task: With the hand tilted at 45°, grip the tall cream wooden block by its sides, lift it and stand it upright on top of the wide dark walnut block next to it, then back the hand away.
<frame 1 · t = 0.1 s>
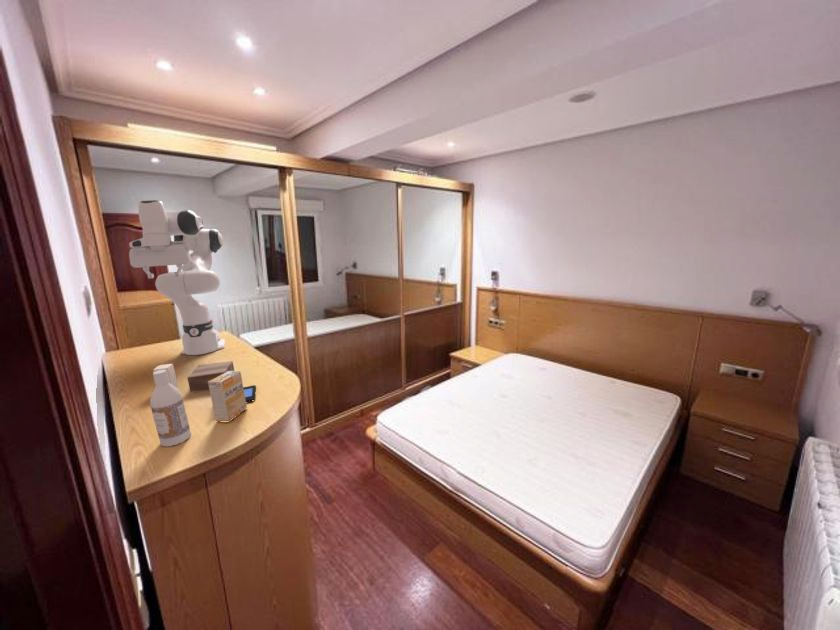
hand: (164, 277, 139), 39 cm above the table, tool pointing down, fingers open, 8 cm apart
supplement box: (232, 416, 106), on the table
handheld game console: (238, 398, 118), on the table
cream block: (168, 389, 127), on the table
walnut block: (214, 383, 131), on the table
bath foam: (176, 440, 95), on the table
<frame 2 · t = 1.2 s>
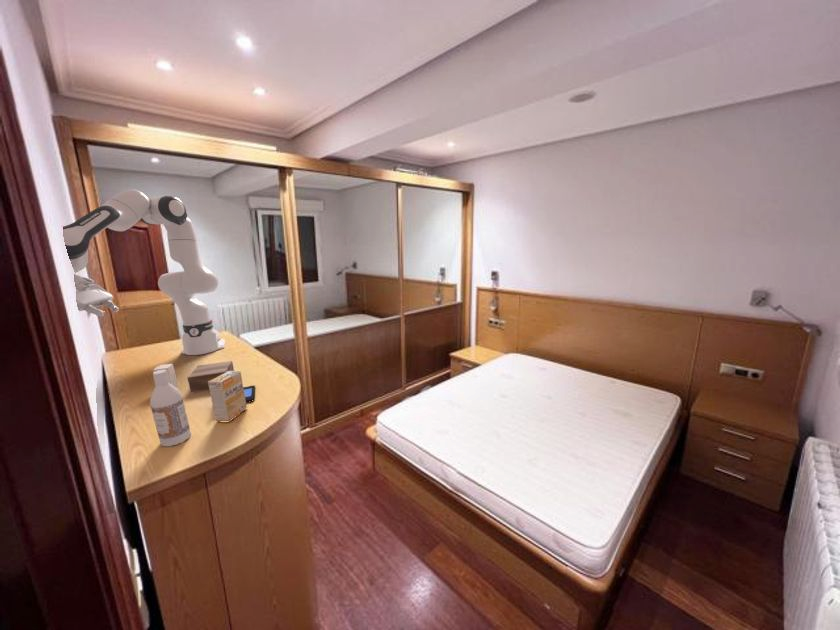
hand: (110, 312, 122), 29 cm above the table, tool tilted 45°, fingers open, 8 cm apart
nothing on the table moved.
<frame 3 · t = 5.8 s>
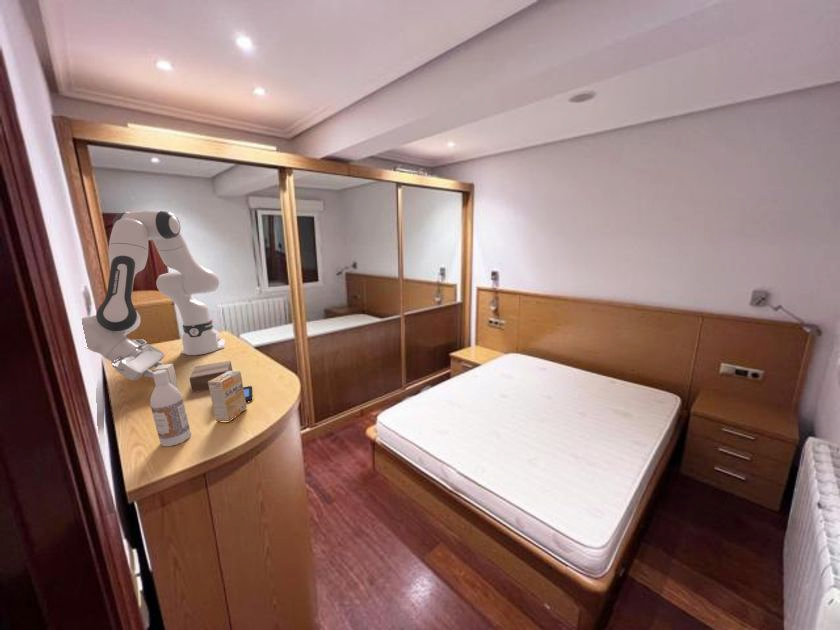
hand: (163, 374, 126), 6 cm above the table, tool tilted 45°, fingers closed on cream block, 4 cm apart
cream block: (168, 389, 127), on the table, touching gripper
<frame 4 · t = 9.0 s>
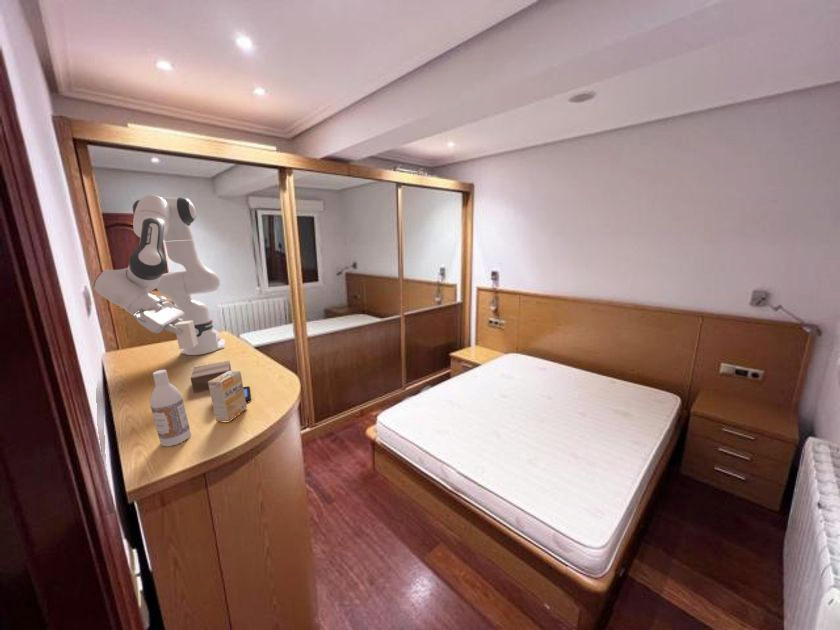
hand: (184, 330, 124), 21 cm above the table, tool tilted 45°, fingers closed on cream block, 4 cm apart
cream block: (188, 346, 126), point 15 cm above the table, touching gripper
when the fingers open (13 cm above the table, at t = 12.2 s): cream block drops 2 cm, point 6 cm above the table.
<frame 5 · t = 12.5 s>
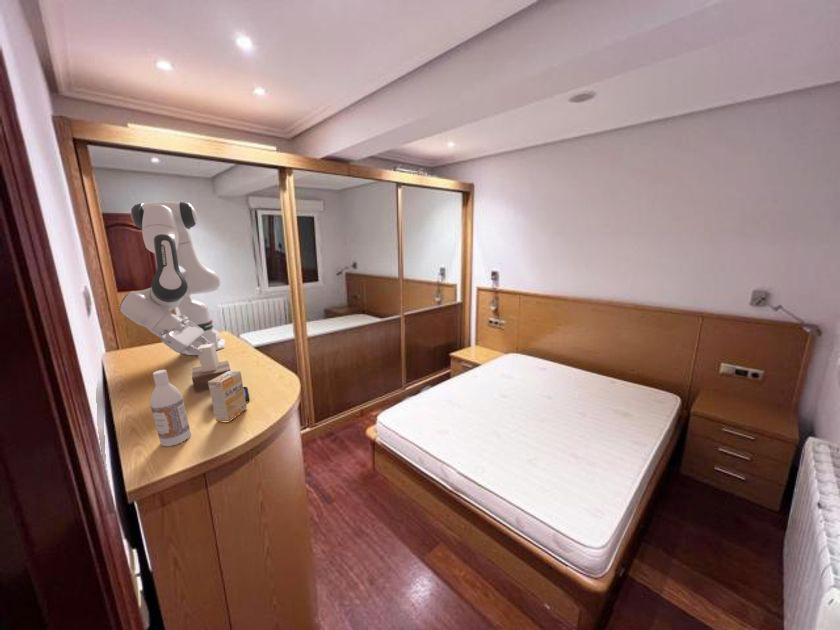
hand: (205, 349, 128), 13 cm above the table, tool tilted 45°, fingers open, 8 cm apart
cream block: (211, 368, 130), point 6 cm above the table
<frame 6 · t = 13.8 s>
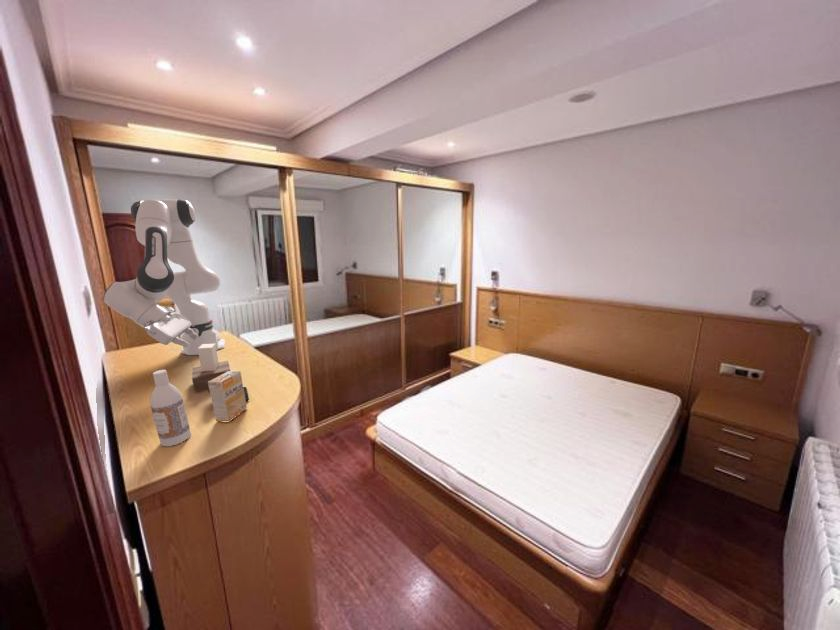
hand: (192, 341, 126), 17 cm above the table, tool tilted 45°, fingers open, 8 cm apart
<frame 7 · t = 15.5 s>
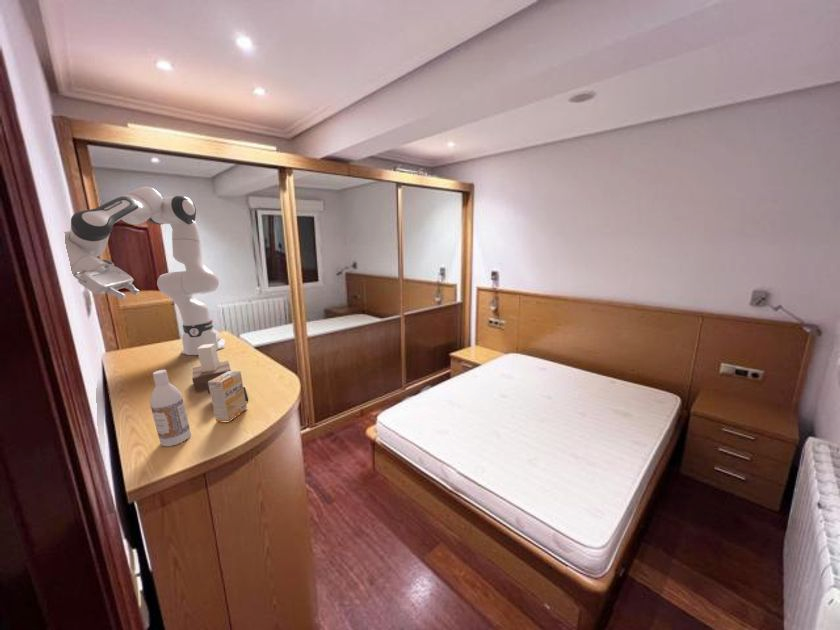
hand: (131, 295, 123), 35 cm above the table, tool tilted 45°, fingers open, 8 cm apart
cream block: (211, 368, 130), point 6 cm above the table, touching walnut block
walnut block: (214, 383, 131), on the table, touching cream block
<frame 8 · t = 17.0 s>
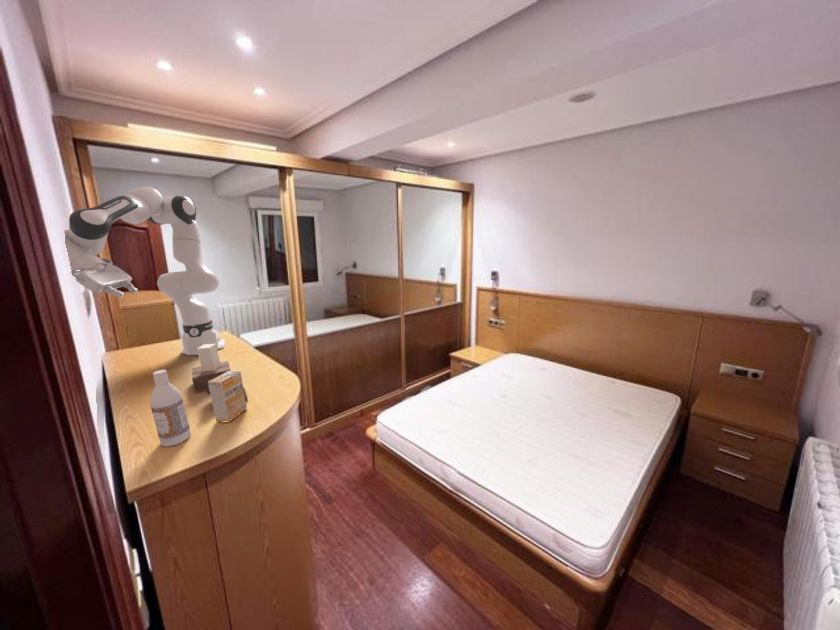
hand: (129, 294, 123), 35 cm above the table, tool tilted 45°, fingers open, 8 cm apart
cream block: (211, 368, 130), point 6 cm above the table
walnut block: (214, 383, 131), on the table
at the end: cream block inside the target area on the walnut block (0.2 cm from its centre), point 6.0 cm above the walnut block's base; cream block tilted 1°; cream block touching nothing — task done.
